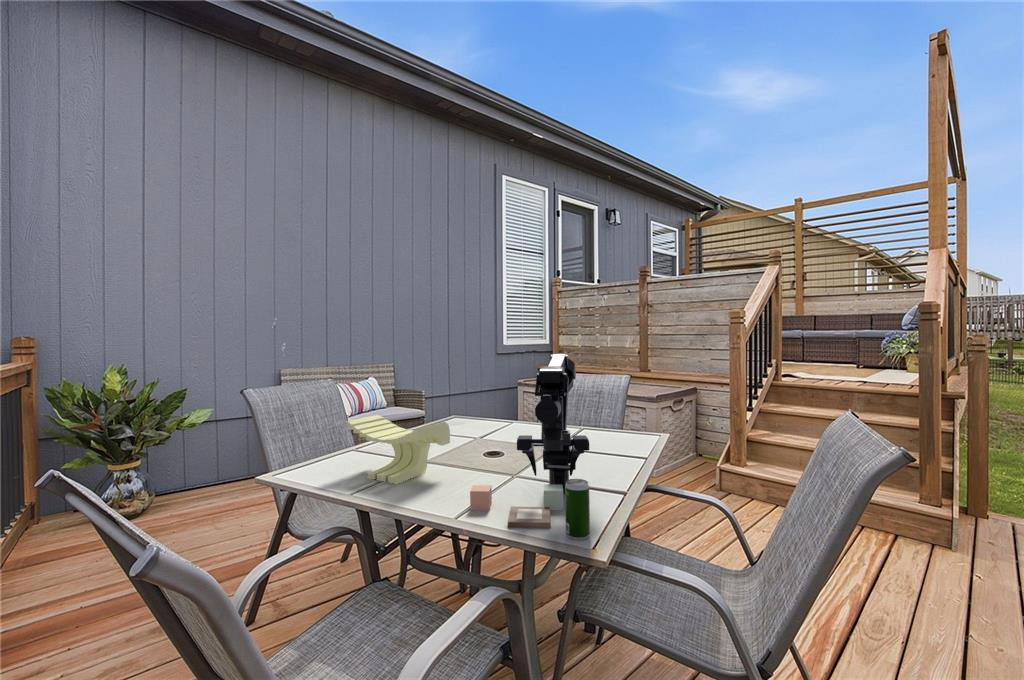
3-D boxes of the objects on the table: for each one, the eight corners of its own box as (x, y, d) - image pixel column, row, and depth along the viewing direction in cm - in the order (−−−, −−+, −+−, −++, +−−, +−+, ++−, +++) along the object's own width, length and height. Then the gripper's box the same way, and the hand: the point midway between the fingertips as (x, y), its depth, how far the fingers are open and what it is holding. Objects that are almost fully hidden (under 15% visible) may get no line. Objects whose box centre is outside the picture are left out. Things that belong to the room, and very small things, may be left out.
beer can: (573, 542, 99) (572, 487, 99) (561, 533, 104) (560, 480, 104) (594, 538, 101) (594, 483, 101) (581, 529, 106) (580, 477, 106)
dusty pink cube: (473, 503, 124) (473, 485, 124) (491, 503, 123) (491, 485, 123) (470, 510, 119) (470, 491, 119) (489, 510, 118) (489, 491, 118)
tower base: (510, 511, 117) (510, 506, 117) (549, 511, 117) (549, 506, 117) (507, 527, 107) (507, 521, 107) (550, 527, 107) (550, 522, 107)
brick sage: (543, 503, 123) (543, 484, 123) (562, 503, 123) (562, 484, 123) (543, 509, 118) (543, 490, 118) (563, 510, 118) (563, 490, 118)
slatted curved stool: (450, 474, 150) (449, 420, 150) (417, 488, 137) (416, 428, 137) (383, 463, 165) (383, 413, 165) (348, 474, 152) (347, 420, 151)
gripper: (515, 422, 113) (515, 485, 113) (591, 422, 112) (592, 485, 112) (517, 414, 124) (518, 471, 124) (586, 414, 123) (587, 472, 123)
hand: (553, 475), depth 121 cm, fingers open, 9 cm apart
